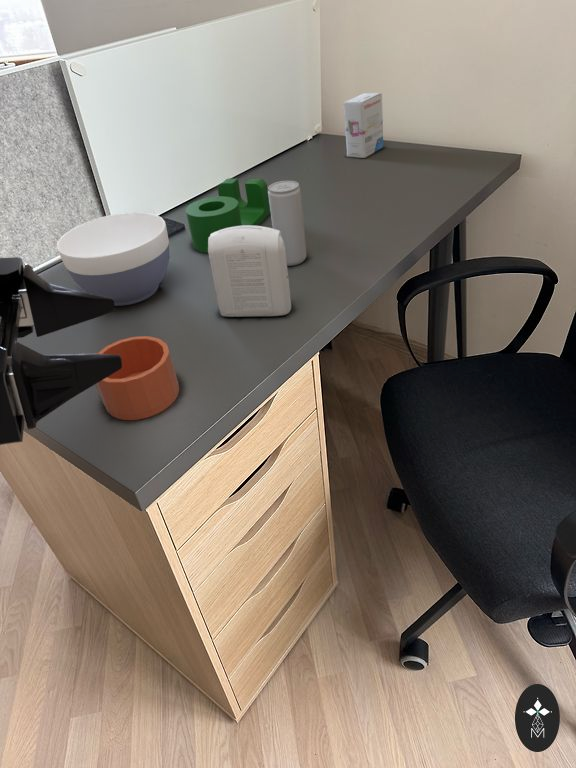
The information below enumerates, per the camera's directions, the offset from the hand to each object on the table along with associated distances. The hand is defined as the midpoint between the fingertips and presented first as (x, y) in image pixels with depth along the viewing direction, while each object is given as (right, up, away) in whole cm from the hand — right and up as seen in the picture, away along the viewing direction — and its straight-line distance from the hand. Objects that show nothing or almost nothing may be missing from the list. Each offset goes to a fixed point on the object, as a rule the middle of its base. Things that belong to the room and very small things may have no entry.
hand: (117, 330), depth 47 cm
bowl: (-11, +10, +42) cm, 45 cm away
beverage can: (+15, +15, +45) cm, 49 cm away
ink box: (+32, +49, +85) cm, 103 cm away
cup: (-3, -6, +20) cm, 21 cm away
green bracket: (+3, +23, +57) cm, 61 cm away
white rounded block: (+10, +6, +33) cm, 35 cm away
